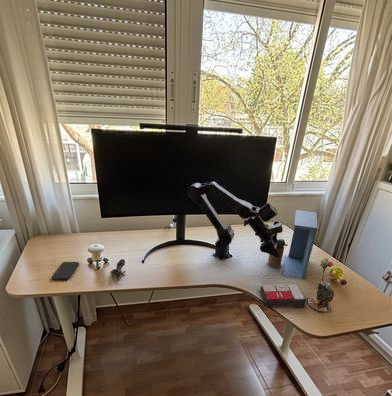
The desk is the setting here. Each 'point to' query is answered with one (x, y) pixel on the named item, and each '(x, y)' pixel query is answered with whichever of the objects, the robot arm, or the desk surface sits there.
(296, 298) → the red and grey box
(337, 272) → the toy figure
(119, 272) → the dark squid figurine
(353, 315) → the desk surface
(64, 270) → the phone
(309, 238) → the cubby
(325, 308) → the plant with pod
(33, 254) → the desk surface
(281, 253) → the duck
